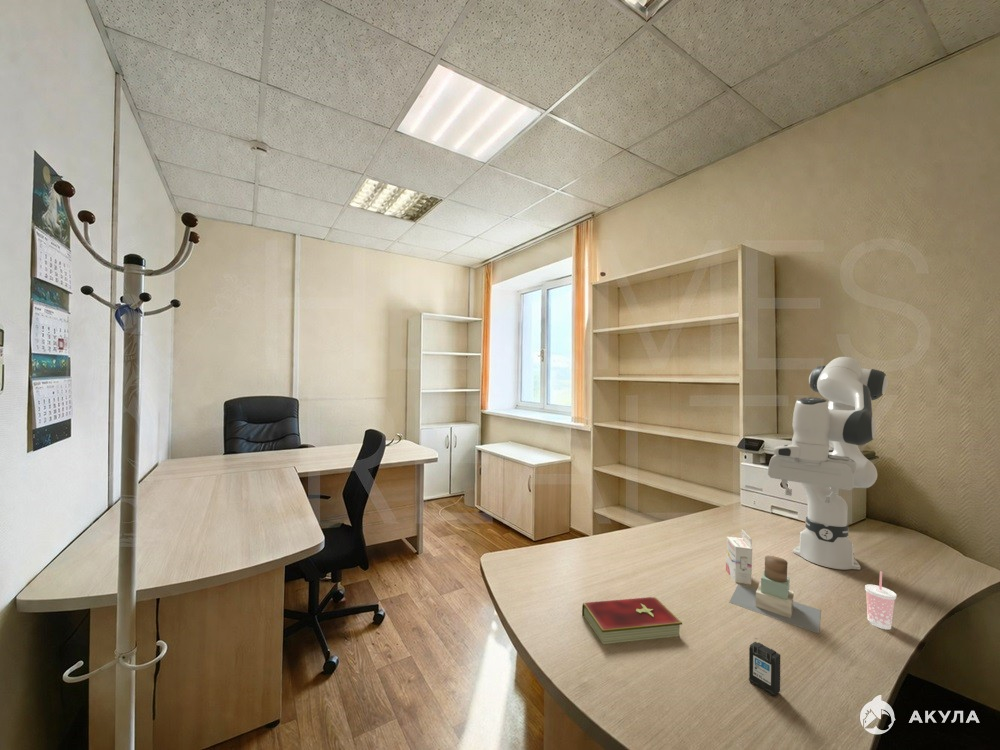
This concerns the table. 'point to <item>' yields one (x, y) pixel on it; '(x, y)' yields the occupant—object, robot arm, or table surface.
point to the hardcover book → (630, 620)
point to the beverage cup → (880, 605)
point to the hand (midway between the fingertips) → (808, 498)
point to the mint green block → (775, 587)
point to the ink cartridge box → (739, 558)
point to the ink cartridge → (764, 668)
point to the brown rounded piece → (775, 569)
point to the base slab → (775, 603)
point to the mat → (800, 614)
